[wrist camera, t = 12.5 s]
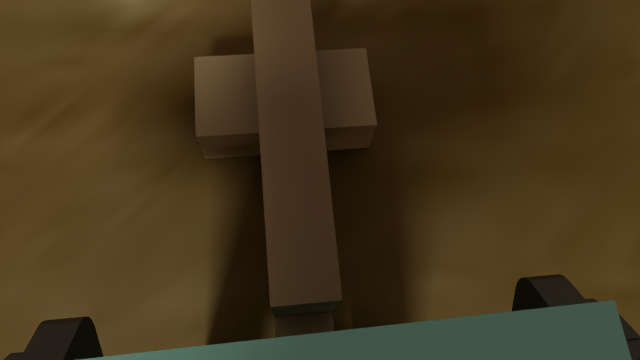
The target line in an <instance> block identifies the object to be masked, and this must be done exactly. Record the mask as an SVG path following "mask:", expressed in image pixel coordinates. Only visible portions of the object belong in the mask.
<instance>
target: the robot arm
mask: <svg viewBox="0 0 640 360" xmlns="http://www.w3.org/2000/svg"><path fill="white" fill-rule="evenodd" d="M592 302H598V301H596V300H595V299H584V297H583V296H582V295H581V294H580V293H579V292H578V291H577V289H576V288H575V287H574V286H573V285H572V284H571V283H570V281H569V280H568V279H567V278H566V277H564V276H563V275H559V274H557V275H546V276H536V277H525V278H521V279H519V281H518V282H517V285H516V289H515V295H514V301H513V307H512V311H520V310H529V309H538V308H547V307H556V306H565V305H574V304H583V303H592ZM619 317H620V321H621V324H622V328H623V331H624V335H625V338H626V342H627V345H628V349H629V352H630V356H631V359H632V360H640V336H639V335H638V334H637V333H636V332H635V331H634V329H633V328H632V327H631V326H630V325H629V324H628V323H627V322H626V321H625V320H624V319H623V318H622V317H621V316H620V315H619ZM97 357H103V354H102V350H101V347H100V343H99V340H98V336H97V333H96V330H95V326H94V323H93V321H92V320H91V318H89V317H77V318H66V319H55V320H46V321H43V322H41V324H40V325H39V326H38V328H37V329H36V331H35V333H34V335H33V336H32V338H31V340H30V342H29V344H28V345H27V347H26V349H25V351H24V352H20V353H10V354H9V355H8V356H7V357H6V358H5V359H4V360H79V359H88V358H97Z"/></svg>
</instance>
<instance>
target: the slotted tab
mask: <svg viewBox="0 0 640 360" xmlns="http://www.w3.org/2000/svg"><path fill="white" fill-rule="evenodd" d="M79 360H632V359H631V356H630V352H629V349H628V345H627V342H626V338H625V335H624V331H623V328H622V324H621V321H620V317H619V314H618V310H617V307H616V303H615V300H610V301H601V302H592V303H583V304H574V305H565V306H556V307H547V308H538V309H529V310H520V311H511V312H502V313H493V314H484V315H475V316H466V317H457V318H448V319H439V320H430V321H421V322H412V323H403V324H394V325H385V326H376V327H367V328H358V329H349V330H340V331H331V332H322V333H313V334H304V335H295V336H286V337H277V338H268V339H259V340H250V341H241V342H232V343H223V344H214V345H205V346H196V347H187V348H178V349H169V350H160V351H151V352H142V353H133V354H124V355H115V356H106V357H97V358H88V359H79Z"/></svg>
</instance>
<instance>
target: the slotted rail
mask: <svg viewBox="0 0 640 360" xmlns="http://www.w3.org/2000/svg"><path fill="white" fill-rule="evenodd" d="M251 11H252V27H253V43H254V54H242V55H224V56H205V57H194V80H195V130H196V139H197V141H198V143H199V146H200V148H201V150H202V153H203V155H204V157H205V159H217V158H231V157H245V156H259V155H261V169H262V185H263V201H264V216H265V232H266V248H267V264H268V280H269V295H270V308H271V310H272V312H273V315H274V317H275V330H276V338H277V337H286V336H295V335H304V334H313V333H322V332H331V331H335V329H334V319H333V311H334V310H335V309H336V308H337V306H338V305H339V304H340V303H341V302H342V300H343V298H342V289H341V280H340V270H339V261H338V252H337V243H336V233H335V224H334V215H333V206H332V196H331V187H330V178H329V168H328V159H327V151H331V150H345V149H359V148H369V146H370V143H371V141H372V138H373V135H374V132H375V129H376V127H377V120H376V113H375V106H374V99H373V92H372V85H371V78H370V71H369V65H368V58H367V51H366V48H352V49H333V50H316V48H315V39H314V29H313V20H312V11H311V2H310V0H251Z"/></svg>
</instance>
